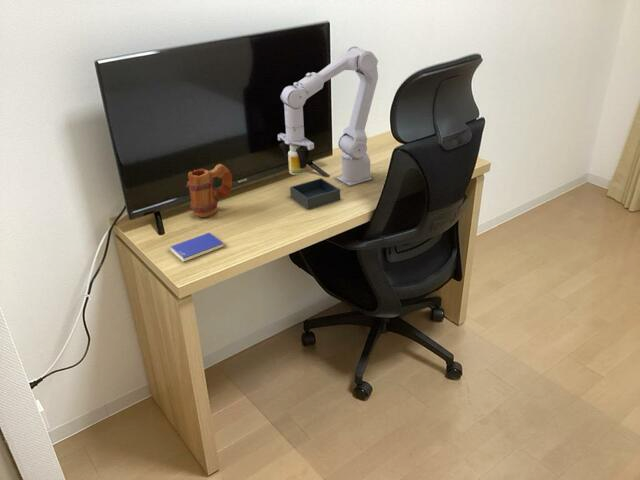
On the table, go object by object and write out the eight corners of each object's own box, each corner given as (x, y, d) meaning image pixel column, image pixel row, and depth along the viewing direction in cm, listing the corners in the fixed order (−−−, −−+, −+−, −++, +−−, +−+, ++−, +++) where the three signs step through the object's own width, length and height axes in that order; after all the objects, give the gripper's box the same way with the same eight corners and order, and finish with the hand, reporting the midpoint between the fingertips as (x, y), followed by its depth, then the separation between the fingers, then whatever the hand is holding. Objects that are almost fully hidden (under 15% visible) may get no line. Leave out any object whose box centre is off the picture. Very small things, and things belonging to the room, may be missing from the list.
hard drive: (183, 257, 156) (222, 242, 163) (169, 245, 162) (208, 231, 169) (183, 262, 157) (223, 247, 164) (170, 250, 163) (209, 236, 169)
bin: (321, 188, 196) (321, 178, 194) (340, 199, 188) (340, 189, 186) (290, 197, 191) (290, 187, 189) (308, 209, 182) (307, 199, 181)
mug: (194, 222, 177) (187, 177, 170) (186, 212, 184) (179, 168, 176) (239, 211, 183) (234, 167, 175) (230, 201, 189) (225, 158, 182)
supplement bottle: (285, 172, 190) (284, 144, 186) (298, 167, 193) (297, 140, 188) (295, 176, 187) (294, 148, 182) (308, 172, 190) (307, 144, 185)
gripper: (269, 124, 184) (272, 163, 191) (302, 133, 175) (304, 174, 182) (285, 118, 188) (288, 157, 195) (317, 127, 179) (319, 167, 186)
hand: (296, 165), depth 189 cm, fingers closed on supplement bottle, 5 cm apart
